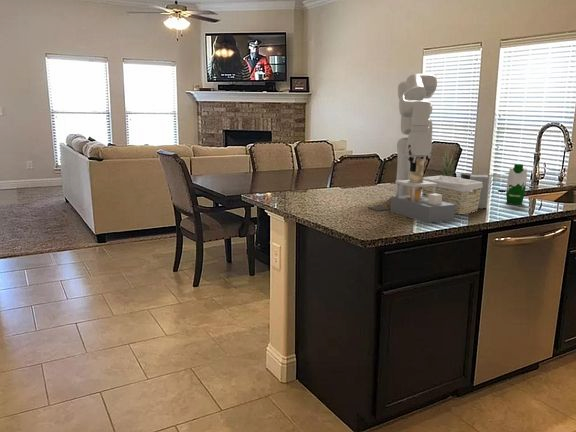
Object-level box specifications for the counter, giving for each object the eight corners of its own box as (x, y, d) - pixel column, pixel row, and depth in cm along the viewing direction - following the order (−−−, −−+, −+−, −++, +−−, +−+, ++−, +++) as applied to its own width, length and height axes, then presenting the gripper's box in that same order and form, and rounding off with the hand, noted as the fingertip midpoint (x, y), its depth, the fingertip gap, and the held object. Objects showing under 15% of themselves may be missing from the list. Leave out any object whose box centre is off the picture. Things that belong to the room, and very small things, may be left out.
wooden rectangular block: (416, 189, 230) (418, 158, 227) (422, 190, 226) (424, 158, 223) (409, 189, 228) (411, 158, 225) (414, 190, 224) (417, 159, 222)
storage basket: (481, 212, 236) (484, 181, 233) (460, 216, 226) (464, 183, 223) (438, 204, 254) (441, 174, 251) (417, 207, 245) (420, 177, 242)
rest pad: (381, 207, 243) (381, 206, 243) (389, 210, 237) (389, 208, 236) (368, 208, 240) (368, 207, 240) (377, 211, 234) (377, 209, 234)
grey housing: (390, 211, 234) (392, 180, 231) (414, 209, 240) (416, 178, 236) (428, 223, 211) (430, 188, 208) (453, 220, 217) (457, 187, 214)
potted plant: (436, 187, 306) (439, 146, 301) (452, 188, 305) (456, 147, 299) (438, 190, 296) (442, 147, 291) (455, 190, 295) (459, 148, 290)
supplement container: (478, 198, 273) (480, 175, 270) (457, 196, 276) (459, 174, 274) (478, 195, 283) (480, 173, 280) (458, 193, 286) (460, 172, 283)
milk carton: (504, 203, 258) (509, 164, 254) (505, 200, 266) (509, 162, 262) (523, 205, 255) (528, 165, 250) (523, 202, 263) (528, 163, 258)
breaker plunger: (406, 206, 230) (407, 189, 228) (415, 205, 232) (416, 188, 230) (413, 208, 226) (414, 190, 224) (421, 207, 228) (423, 190, 226)
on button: (427, 209, 218) (428, 193, 217) (434, 209, 220) (435, 193, 218) (433, 211, 215) (434, 195, 213) (440, 211, 216) (442, 194, 215)
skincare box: (485, 206, 249) (488, 174, 245) (486, 209, 242) (489, 176, 239) (467, 205, 251) (470, 173, 248) (467, 208, 245) (470, 175, 241)
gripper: (429, 129, 228) (426, 169, 232) (399, 129, 221) (396, 171, 225) (440, 130, 222) (437, 171, 226) (410, 130, 215) (407, 173, 218)
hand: (416, 170), depth 225 cm, fingers closed on wooden rectangular block, 4 cm apart
